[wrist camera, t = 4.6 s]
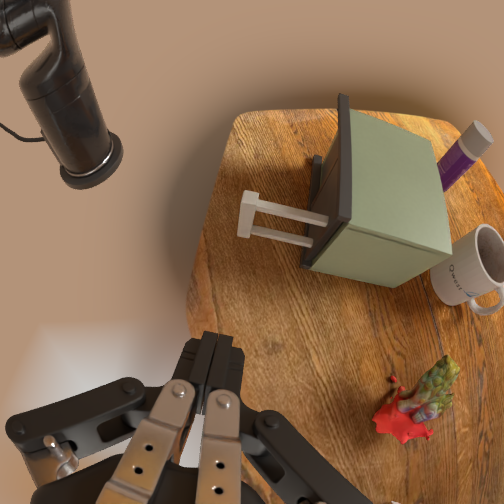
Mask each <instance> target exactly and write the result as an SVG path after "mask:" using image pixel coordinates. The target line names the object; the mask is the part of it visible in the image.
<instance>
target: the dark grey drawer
mask: <svg viewBox="0 0 504 504" xmlns="http://www.w3.org/2000/svg"><path fill="white" fill-rule="evenodd" d="M337 173H338V154H337V156H336V158H335V160H334V162H333V164H332V166H331V168H330V170H329V172H328V173H327V175H326V177H325V179H324V181H323V183H322V185H321V187H320V189H319V191H318V193H317V195H316V197H315V198H314V200H313V202H312V204H311V212H309V211H305V210H301V209H297V208H293V207H289V206H285V205H281V204H277V203H272V202H268V201H264V200H259V199H258V197H259V193H257V192H252V191H248V190H244V192H243V196H242V199H241V205H240V213H239V222H238V231H237V236H239V237H244V238H248V239H249V238H250V234H253V235H257V236H261V237H266V238H270V239H275V240H279V241H283V242H288V243H292V244H296V245H300V246H305V247H307V248H306V254H305V259H304V260H305V261H310V262H311V261H312V259H313V258H314V257H315V256H316V254H317V253H318V252H319V251H320V250H321V248H322V247H323V246H324V245H325V243H326V242H327V241H328V240H329V238H330V237H331V236H332V235H333V233H334V232H335V231H336V230H337V228H338V227H339V226H340V225H341V223H342V221H339V220H335V215H336V198H337ZM255 211H259V212H264V213H268V214H273V215H277V216H281V217H285V218H290V219H294V220H298V221H302V222H306V223H310V224H309V232H308V237H304V236H299V235H295V234H291V233H287V232H282V231H278V230H274V229H269V228H265V227H261V226H256V225H253V221H254V216H255Z"/></svg>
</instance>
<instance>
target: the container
mask: <svg viewBox="0 0 504 504" xmlns="http://www.w3.org/2000/svg"><path fill="white" fill-rule="evenodd" d="M492 143H493V138H492V136H491V134H490V133H489V131H488V130H487V129H486V128H485V127H484V126H483V125H482V124H481V123H480V122H478V121H474V122H473V123H472V124H471V125H470V126H469V127H468V129H467V130H466V131H465V132H464V133H463V134H462V135H461V136H460V137H459V139H458V140H457V141H456V142H455V143H454V144H453V146H452V147H451V148H450V149H449V150H448V151H447V153H446V154H445V155H444V156H443V157H442V158H441V159H440V161H439V162H438V163H437V166H438V171H439V175H440V179H441V184H442V188H443V193H444V192H445V191H447V190H448V189H449V188H450V187H451V186H452V185H453V184H454V183H455V182H456V181H457V180H458V179H459V178H460V177H461V176H462V175H463V174H464V173H465V172H466V171H467V170H468V169H469V168H470V167H471V166H472V165H473V164H474V163H475V162H476V161H477V160H478V159H479V158H480V157H481V156H482V154H483V153H484V152H485V151H486V150H487V149H488V148H489V146H490V145H491V144H492Z"/></svg>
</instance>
